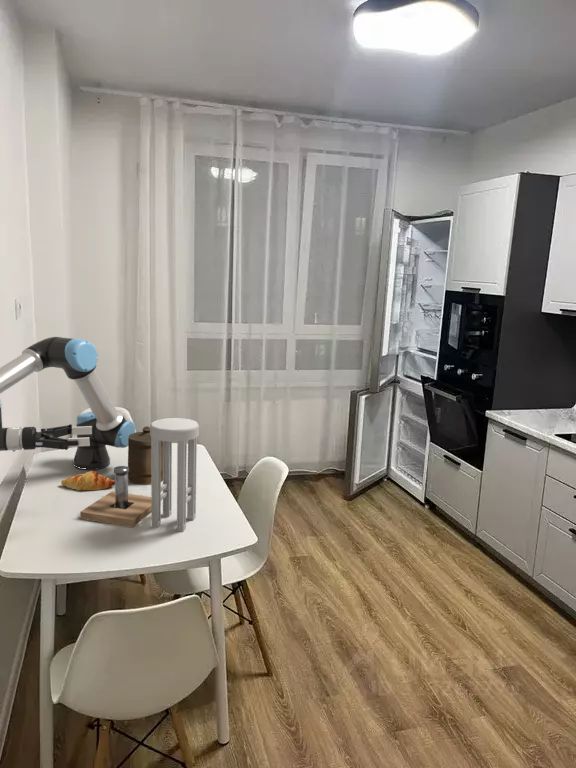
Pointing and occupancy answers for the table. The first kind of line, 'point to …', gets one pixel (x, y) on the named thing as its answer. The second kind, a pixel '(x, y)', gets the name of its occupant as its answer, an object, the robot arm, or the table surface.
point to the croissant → (88, 481)
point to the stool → (169, 433)
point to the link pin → (121, 487)
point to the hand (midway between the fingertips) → (90, 435)
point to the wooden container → (141, 457)
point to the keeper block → (118, 510)
